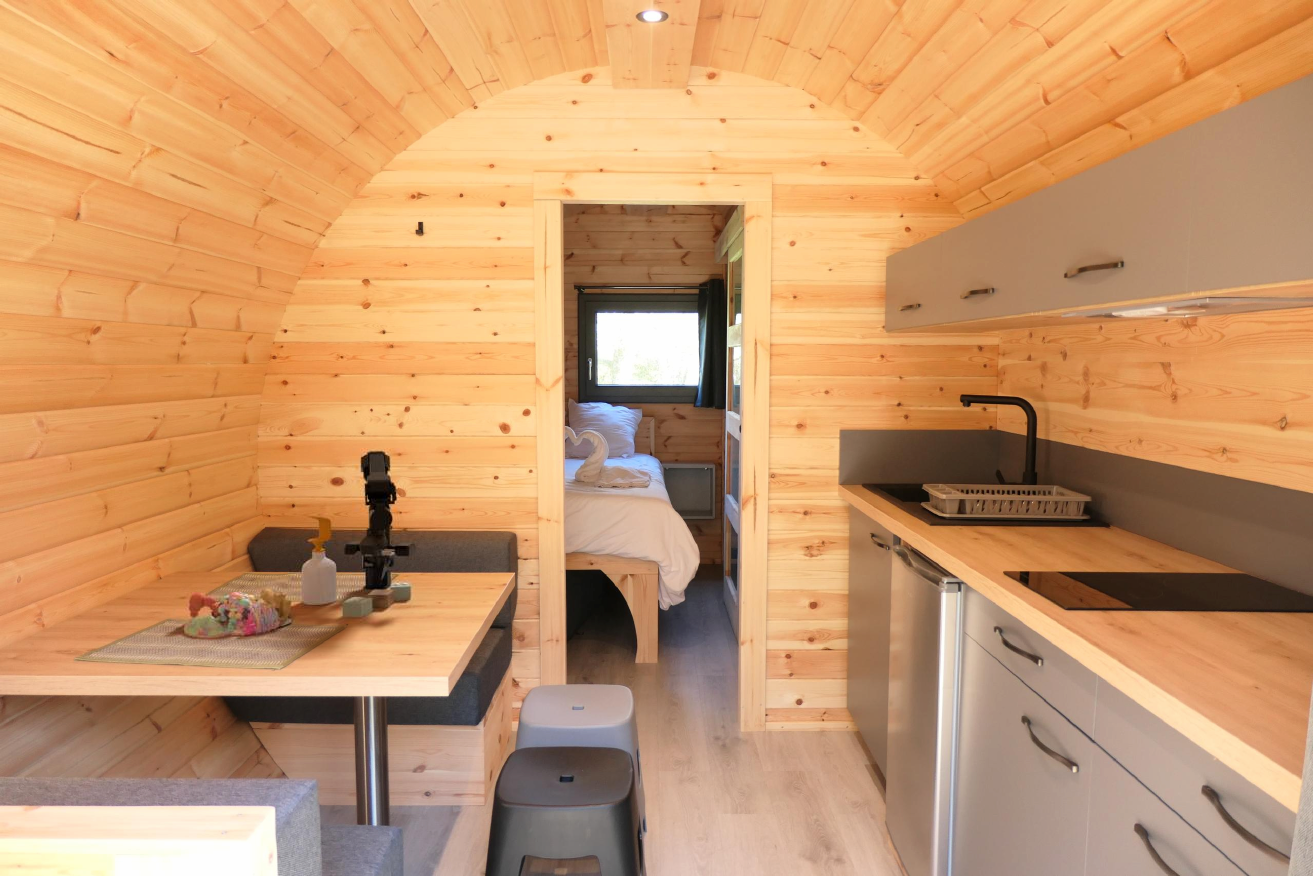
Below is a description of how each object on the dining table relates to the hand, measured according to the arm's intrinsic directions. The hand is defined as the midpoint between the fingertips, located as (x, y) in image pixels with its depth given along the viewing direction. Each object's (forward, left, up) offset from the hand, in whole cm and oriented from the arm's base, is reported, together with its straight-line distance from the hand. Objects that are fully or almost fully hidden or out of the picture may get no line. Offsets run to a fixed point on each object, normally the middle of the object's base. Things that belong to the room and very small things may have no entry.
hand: (380, 579), depth 233 cm
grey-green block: (-3, -9, -8) cm, 12 cm away
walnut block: (0, 0, -8) cm, 8 cm away
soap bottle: (-19, +2, -8) cm, 21 cm away
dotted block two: (+2, +9, -8) cm, 12 cm away
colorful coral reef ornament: (-28, -22, -8) cm, 36 cm away
